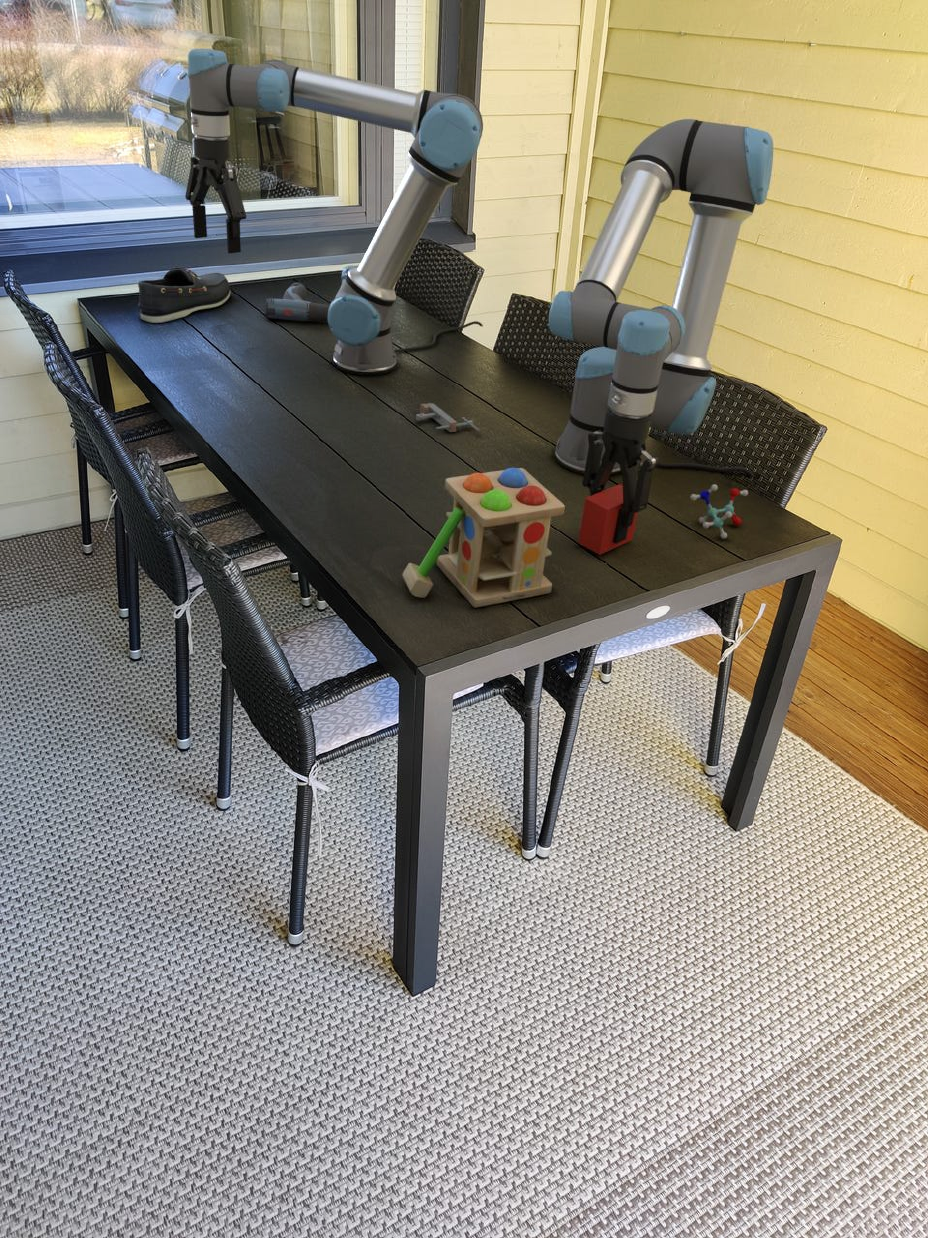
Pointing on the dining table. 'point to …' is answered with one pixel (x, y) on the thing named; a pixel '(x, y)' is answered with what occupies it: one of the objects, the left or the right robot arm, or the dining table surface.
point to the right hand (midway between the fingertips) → (606, 533)
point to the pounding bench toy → (492, 538)
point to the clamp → (442, 418)
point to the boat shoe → (180, 294)
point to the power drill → (295, 306)
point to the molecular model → (713, 512)
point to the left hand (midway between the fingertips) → (217, 244)
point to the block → (603, 520)
